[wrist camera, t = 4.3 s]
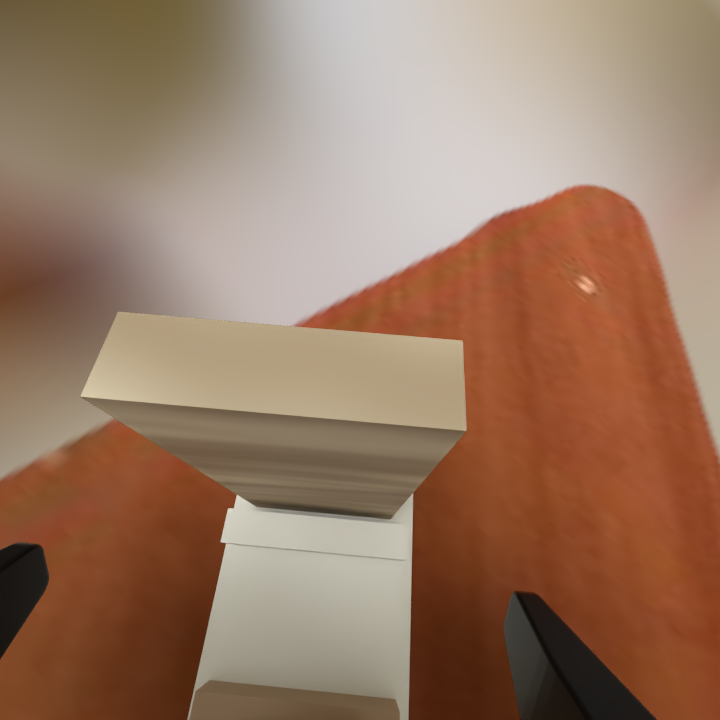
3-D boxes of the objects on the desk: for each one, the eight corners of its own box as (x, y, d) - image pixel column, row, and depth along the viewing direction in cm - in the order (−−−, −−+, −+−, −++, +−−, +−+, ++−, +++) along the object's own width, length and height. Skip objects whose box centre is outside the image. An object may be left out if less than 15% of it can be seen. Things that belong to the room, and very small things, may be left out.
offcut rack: (399, 929, 13) (418, 1069, 9) (155, 900, 13) (82, 1027, 9) (411, 451, 20) (424, 427, 16) (255, 437, 20) (234, 410, 17)
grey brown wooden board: (390, 519, 18) (466, 430, 6) (256, 507, 18) (80, 396, 6) (392, 482, 18) (462, 340, 7) (263, 471, 18) (118, 311, 7)
